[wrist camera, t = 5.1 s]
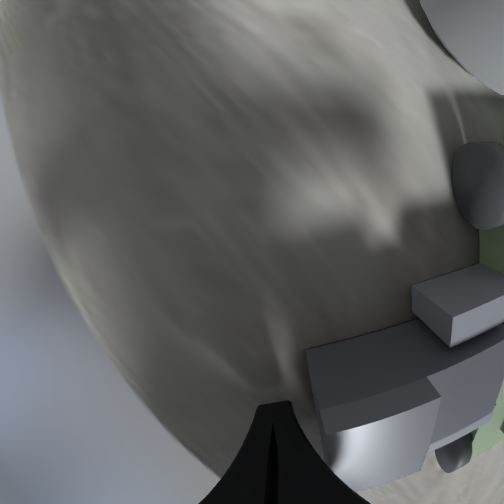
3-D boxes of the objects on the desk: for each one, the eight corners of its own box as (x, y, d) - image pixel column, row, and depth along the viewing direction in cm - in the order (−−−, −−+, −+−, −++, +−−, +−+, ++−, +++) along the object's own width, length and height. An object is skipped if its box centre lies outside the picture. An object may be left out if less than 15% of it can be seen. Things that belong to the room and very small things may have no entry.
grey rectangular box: (458, 373, 12) (503, 425, 7) (316, 420, 12) (332, 498, 8) (467, 300, 11) (532, 345, 6) (305, 349, 11) (325, 434, 7)
